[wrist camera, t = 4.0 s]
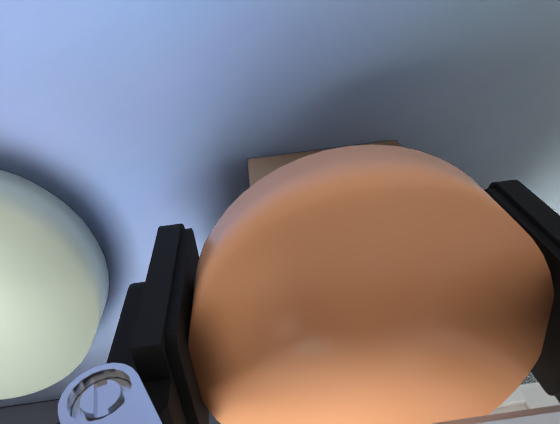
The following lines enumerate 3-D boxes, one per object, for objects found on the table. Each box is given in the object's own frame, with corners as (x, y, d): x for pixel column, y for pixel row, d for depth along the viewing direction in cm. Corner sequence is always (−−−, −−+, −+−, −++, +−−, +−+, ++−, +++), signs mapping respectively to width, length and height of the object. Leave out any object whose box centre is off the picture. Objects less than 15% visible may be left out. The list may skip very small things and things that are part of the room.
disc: (529, 123, 9) (591, 160, 8) (487, 378, 13) (524, 439, 11) (162, 169, 9) (147, 217, 7) (221, 415, 12) (220, 483, 11)
